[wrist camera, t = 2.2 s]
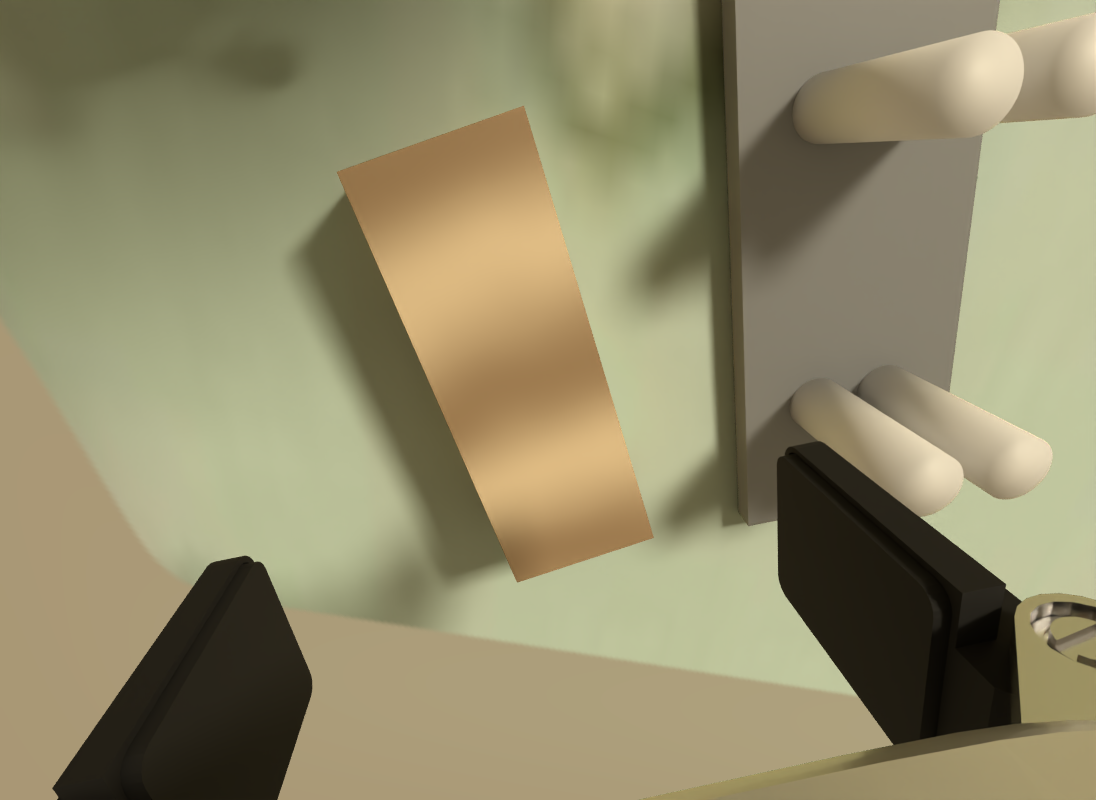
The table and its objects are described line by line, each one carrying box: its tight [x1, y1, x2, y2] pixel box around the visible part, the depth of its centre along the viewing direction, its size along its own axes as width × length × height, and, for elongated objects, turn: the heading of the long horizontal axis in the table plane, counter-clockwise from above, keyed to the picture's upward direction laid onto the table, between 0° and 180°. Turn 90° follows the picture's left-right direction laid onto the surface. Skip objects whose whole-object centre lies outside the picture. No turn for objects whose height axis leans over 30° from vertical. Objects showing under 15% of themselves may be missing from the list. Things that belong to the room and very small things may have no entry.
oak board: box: [337, 106, 654, 582], centre depth 19 cm, size 14×5×4 cm, turn 18°
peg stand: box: [722, 0, 1096, 526], centre depth 17 cm, size 20×8×7 cm, turn 9°
